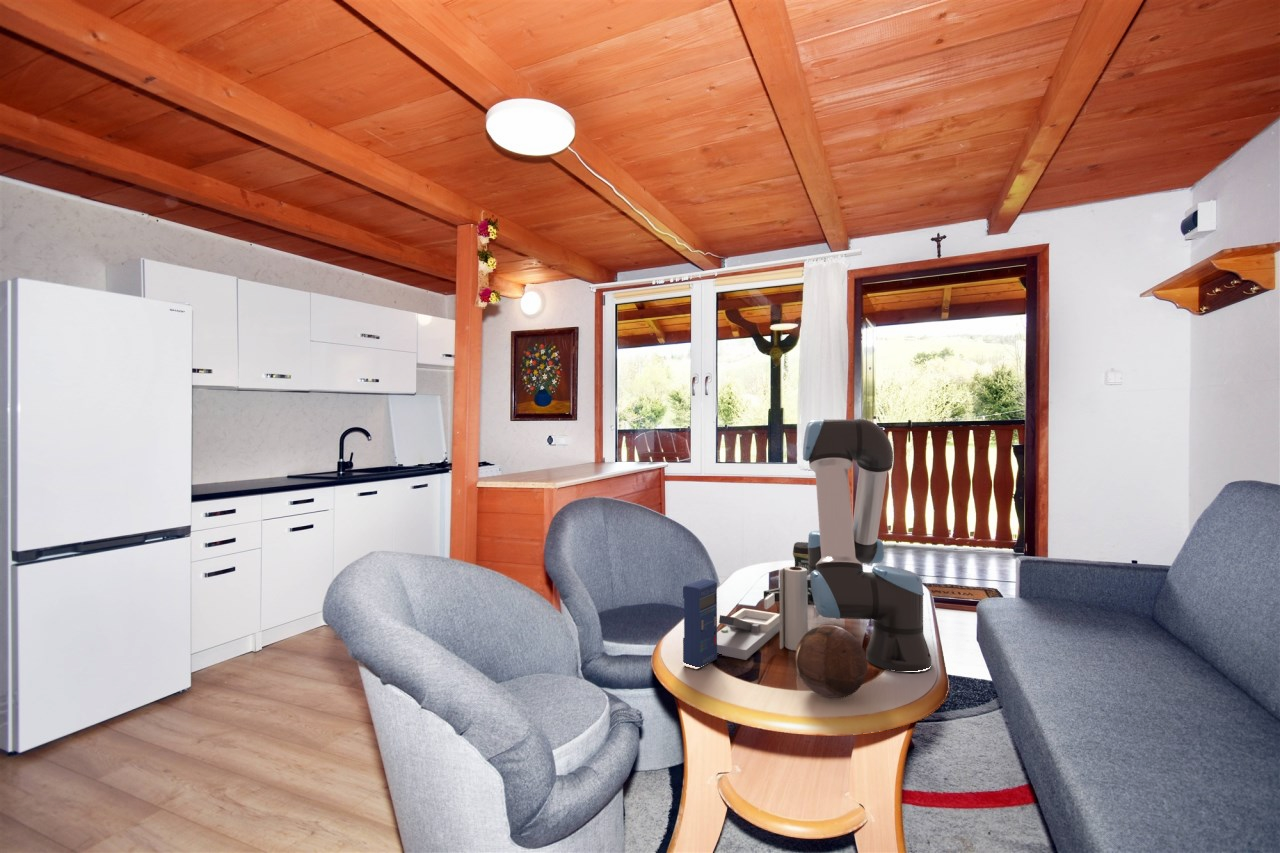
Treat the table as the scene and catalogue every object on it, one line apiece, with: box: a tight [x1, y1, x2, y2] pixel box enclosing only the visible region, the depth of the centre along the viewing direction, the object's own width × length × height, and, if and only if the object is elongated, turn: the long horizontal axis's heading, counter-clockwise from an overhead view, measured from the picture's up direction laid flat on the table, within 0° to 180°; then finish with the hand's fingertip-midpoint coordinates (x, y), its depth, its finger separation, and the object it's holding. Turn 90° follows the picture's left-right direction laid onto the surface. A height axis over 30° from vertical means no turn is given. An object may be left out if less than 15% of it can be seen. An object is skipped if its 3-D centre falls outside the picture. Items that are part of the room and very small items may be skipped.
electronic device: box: [682, 578, 718, 667], centre depth 150 cm, size 10×5×20 cm, turn 143°
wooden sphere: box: [795, 624, 868, 700], centre depth 131 cm, size 15×15×15 cm
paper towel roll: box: [778, 566, 809, 652], centre depth 161 cm, size 7×6×21 cm
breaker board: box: [717, 607, 780, 661], centre depth 167 cm, size 28×12×4 cm, turn 149°
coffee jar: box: [792, 541, 808, 576], centre depth 217 cm, size 10×8×19 cm
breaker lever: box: [718, 614, 752, 631], centre depth 163 cm, size 2×5×15 cm
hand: (789, 608), depth 160 cm, fingers open, 13 cm apart
